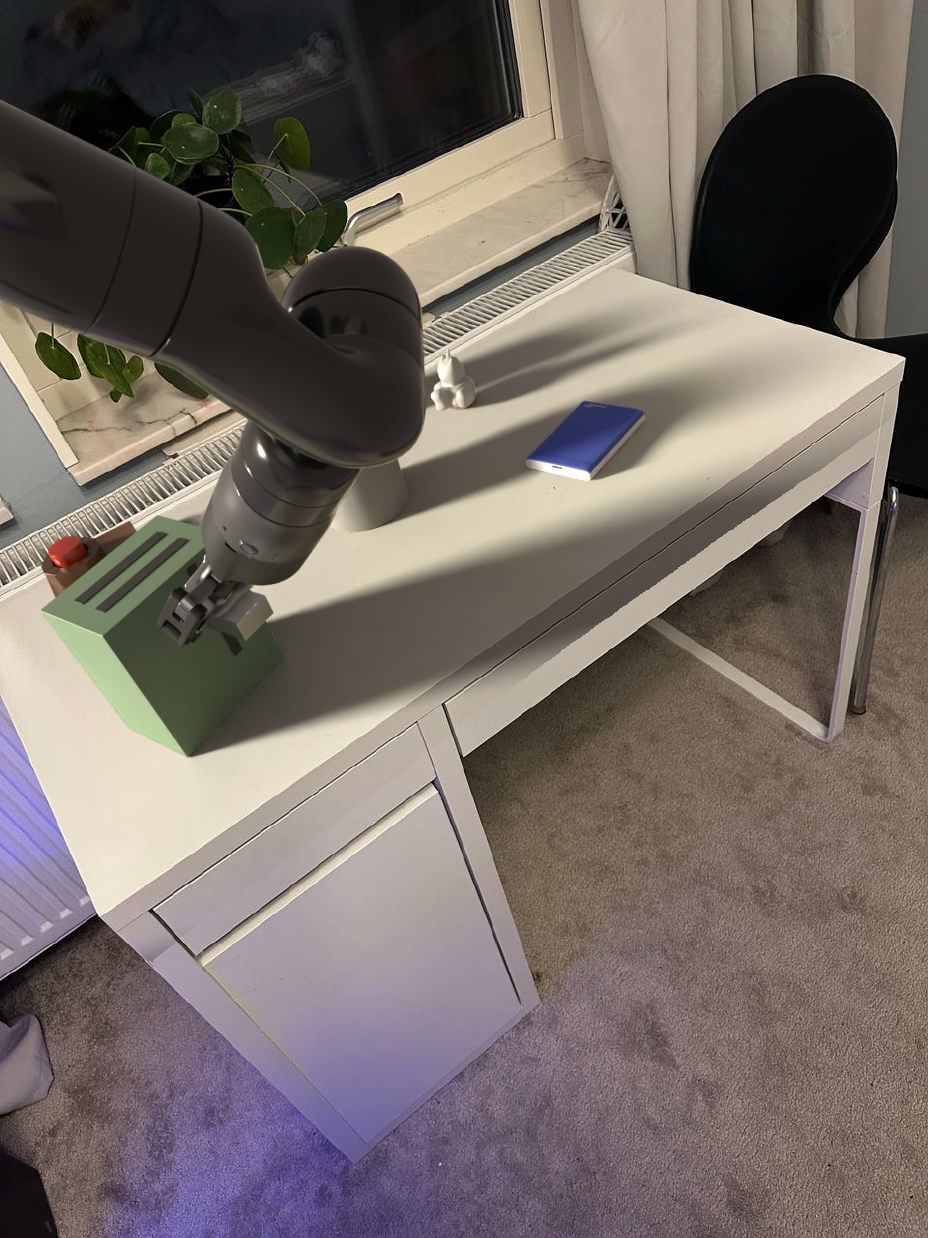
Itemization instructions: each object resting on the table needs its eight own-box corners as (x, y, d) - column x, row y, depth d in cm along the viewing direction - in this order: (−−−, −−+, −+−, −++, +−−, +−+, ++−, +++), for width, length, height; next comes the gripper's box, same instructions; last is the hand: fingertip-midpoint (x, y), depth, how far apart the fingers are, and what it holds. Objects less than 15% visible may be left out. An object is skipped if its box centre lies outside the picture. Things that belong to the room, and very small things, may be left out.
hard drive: (581, 399, 100) (525, 456, 93) (644, 409, 95) (589, 469, 89) (583, 411, 101) (527, 468, 95) (645, 421, 96) (590, 482, 90)
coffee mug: (361, 542, 91) (332, 464, 84) (307, 516, 97) (276, 441, 90) (447, 477, 97) (426, 399, 90) (390, 456, 103) (367, 382, 96)
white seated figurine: (489, 400, 108) (476, 341, 102) (454, 426, 105) (439, 367, 99) (458, 392, 111) (445, 334, 106) (424, 417, 108) (408, 359, 103)
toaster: (189, 758, 73) (103, 636, 63) (128, 728, 77) (38, 609, 67) (286, 656, 80) (222, 532, 70) (224, 634, 84) (156, 514, 74)
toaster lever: (245, 641, 68) (236, 623, 66) (204, 626, 70) (194, 608, 69) (274, 612, 70) (265, 595, 68) (232, 599, 72) (223, 581, 71)
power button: (59, 572, 92) (51, 560, 91) (53, 558, 95) (44, 546, 94) (90, 557, 93) (82, 544, 92) (83, 543, 96) (75, 531, 95)
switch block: (67, 616, 92) (47, 589, 90) (51, 579, 99) (32, 552, 96) (159, 567, 96) (143, 540, 93) (138, 534, 102) (122, 508, 99)
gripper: (297, 412, 59) (245, 514, 72) (148, 534, 51) (121, 623, 65) (376, 486, 60) (311, 574, 73) (242, 618, 52) (196, 689, 65)
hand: (222, 597), depth 69 cm, fingers open, 8 cm apart
